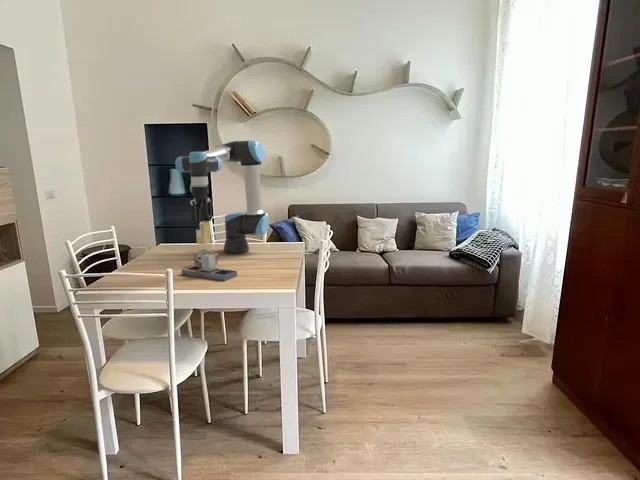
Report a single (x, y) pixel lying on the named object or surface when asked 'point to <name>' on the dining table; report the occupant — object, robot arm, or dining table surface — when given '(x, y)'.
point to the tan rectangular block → (204, 234)
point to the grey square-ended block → (208, 263)
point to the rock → (202, 252)
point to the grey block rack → (216, 275)
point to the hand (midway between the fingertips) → (203, 235)
